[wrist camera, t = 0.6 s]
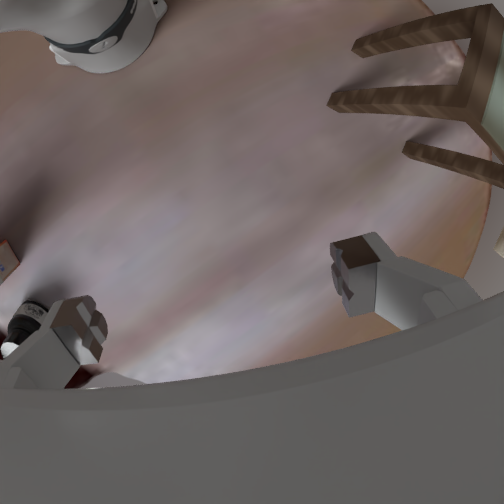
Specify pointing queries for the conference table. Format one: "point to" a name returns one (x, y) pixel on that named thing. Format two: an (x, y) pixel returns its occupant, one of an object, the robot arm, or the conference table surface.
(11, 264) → the cracker box
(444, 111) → the stand
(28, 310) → the ink bottle
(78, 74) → the conference table surface
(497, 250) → the bar
